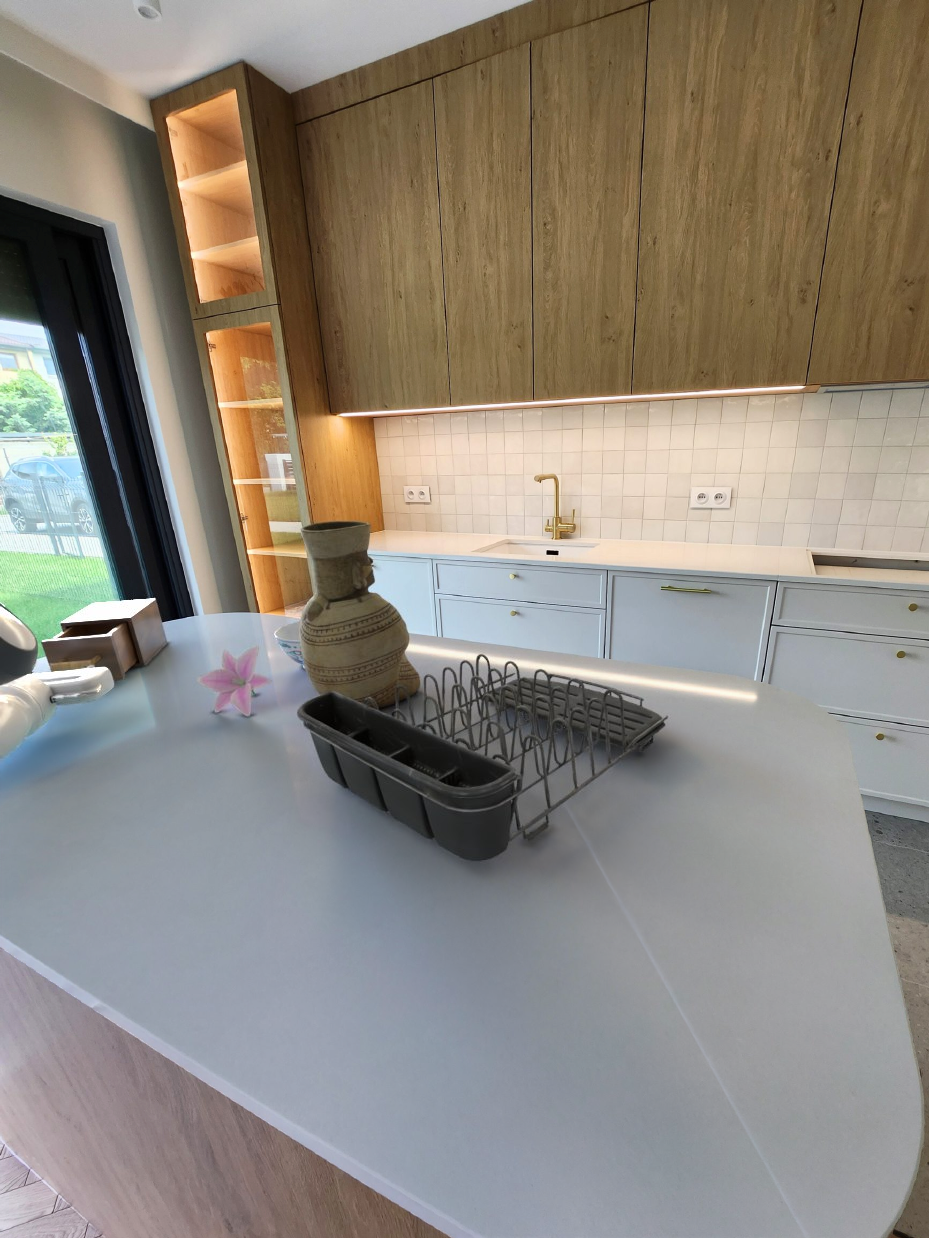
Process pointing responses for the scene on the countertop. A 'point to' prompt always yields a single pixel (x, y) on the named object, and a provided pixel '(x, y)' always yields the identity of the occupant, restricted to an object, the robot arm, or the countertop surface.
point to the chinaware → (290, 641)
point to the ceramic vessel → (352, 621)
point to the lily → (235, 681)
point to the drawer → (92, 648)
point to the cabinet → (140, 622)
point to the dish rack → (468, 753)
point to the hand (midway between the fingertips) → (60, 672)
